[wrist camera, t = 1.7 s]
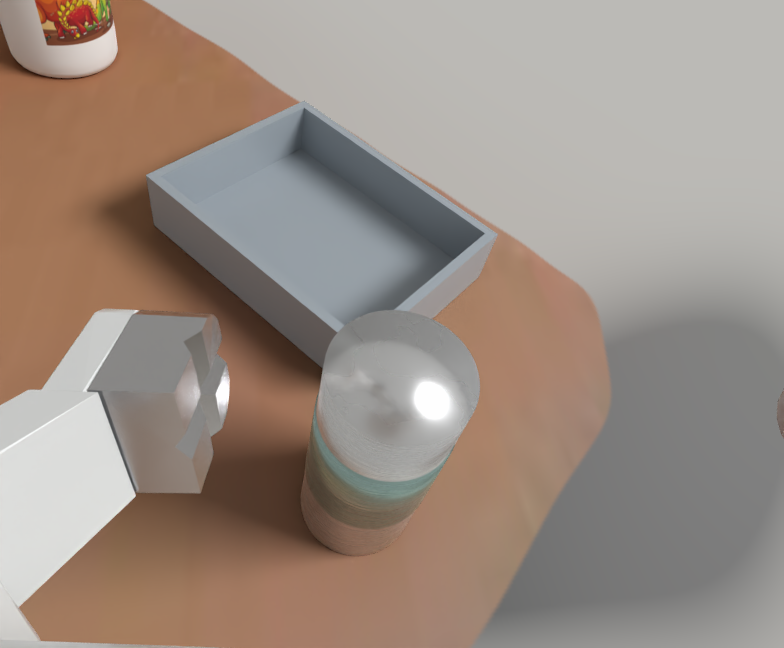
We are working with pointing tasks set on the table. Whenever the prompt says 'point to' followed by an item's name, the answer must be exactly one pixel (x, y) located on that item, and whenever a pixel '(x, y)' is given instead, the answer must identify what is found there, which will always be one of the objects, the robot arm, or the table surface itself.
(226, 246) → the tote
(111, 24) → the milk bottle
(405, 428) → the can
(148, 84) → the table surface
